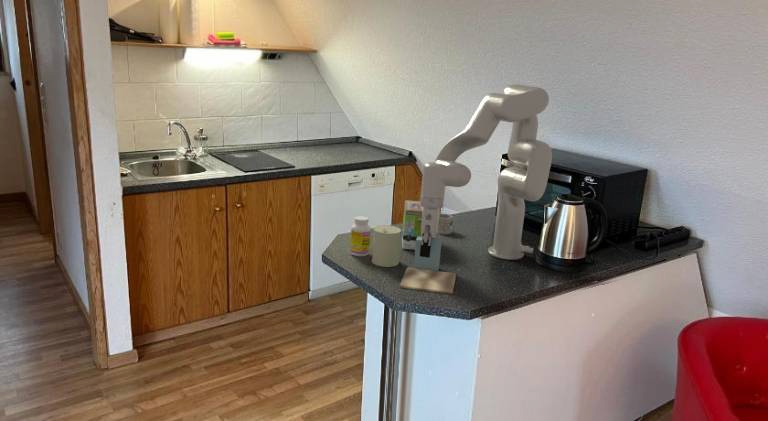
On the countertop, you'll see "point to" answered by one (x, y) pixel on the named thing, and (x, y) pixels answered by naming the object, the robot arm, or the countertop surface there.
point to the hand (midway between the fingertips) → (426, 252)
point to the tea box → (411, 224)
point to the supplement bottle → (360, 237)
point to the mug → (445, 224)
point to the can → (386, 246)
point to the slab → (426, 262)
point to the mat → (428, 280)
